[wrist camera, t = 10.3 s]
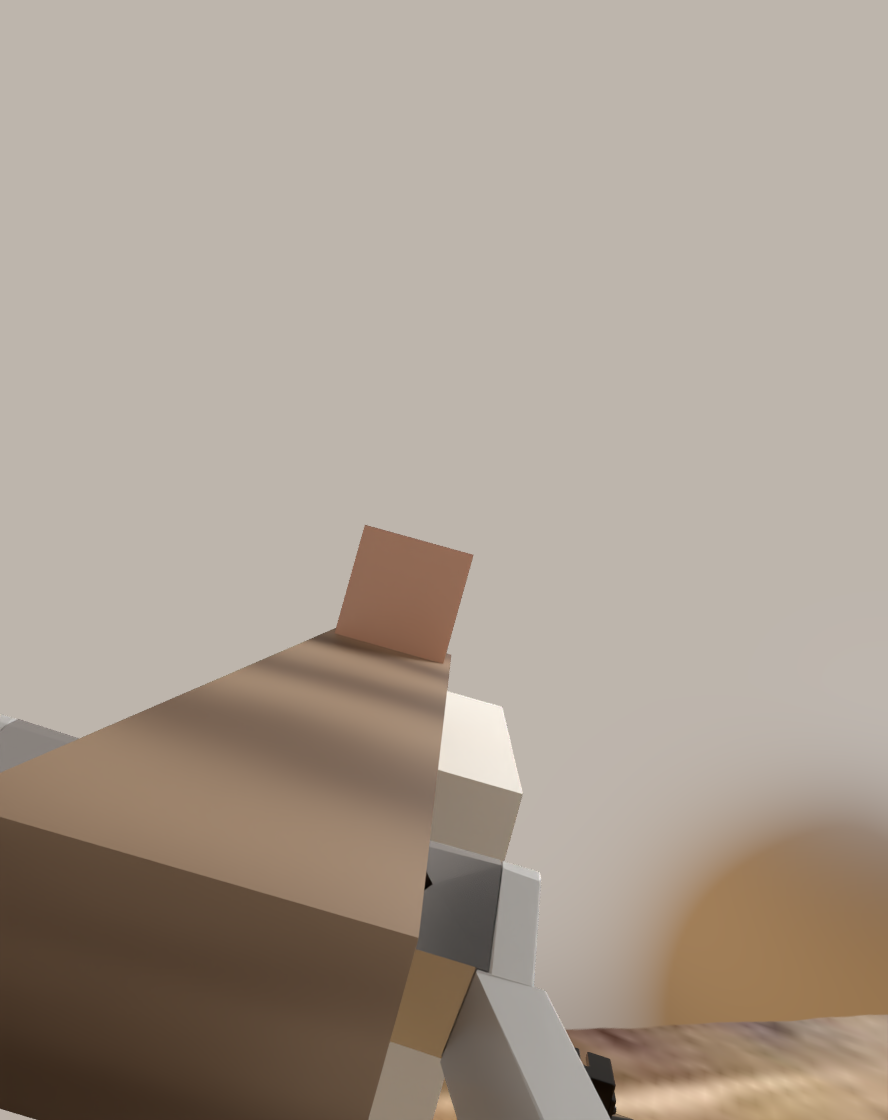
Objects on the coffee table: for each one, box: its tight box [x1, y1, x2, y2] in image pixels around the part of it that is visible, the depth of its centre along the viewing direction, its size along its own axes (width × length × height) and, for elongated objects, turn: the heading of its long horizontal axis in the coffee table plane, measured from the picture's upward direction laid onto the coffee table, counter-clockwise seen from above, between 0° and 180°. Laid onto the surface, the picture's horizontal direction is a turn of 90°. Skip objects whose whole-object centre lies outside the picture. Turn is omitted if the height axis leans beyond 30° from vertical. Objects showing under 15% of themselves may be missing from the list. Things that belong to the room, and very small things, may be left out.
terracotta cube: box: [335, 525, 473, 664], centre depth 31 cm, size 4×4×4 cm
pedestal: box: [368, 691, 523, 1120], centre depth 33 cm, size 16×10×26 cm, turn 177°
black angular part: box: [574, 1047, 633, 1120], centre depth 52 cm, size 12×7×5 cm, turn 85°
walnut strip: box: [0, 628, 451, 1120], centre depth 20 cm, size 26×4×2 cm, turn 178°
